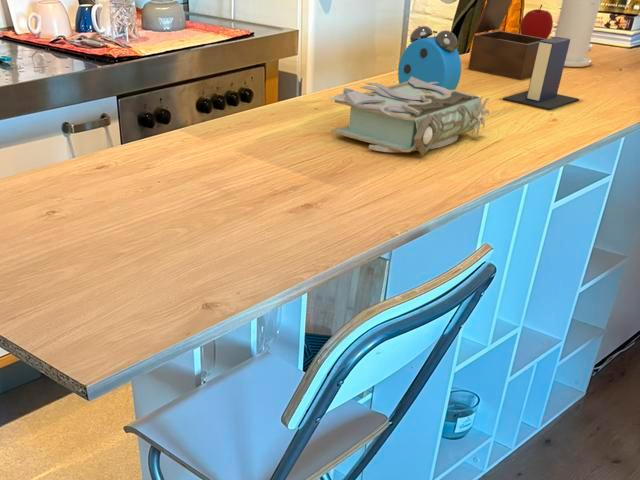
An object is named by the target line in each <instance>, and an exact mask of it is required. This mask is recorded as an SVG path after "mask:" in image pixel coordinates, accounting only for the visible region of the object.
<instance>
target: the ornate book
mask: <svg viewBox="0 0 640 480" xmlns="http://www.w3.org/2000/svg"><path fill="white" fill-rule="evenodd" d="M436 83H439V82H429V83H427V82H424V81H421V80H419V79H417V78H414V77H412V76H411V78H410V79H409V80H408V81H407V82H403V83H400V84H399V83H398V84H393V85H388V86H385V85H383V84H381V83H377V82H365V85H363V86H360V89H363V90H367V91H371V92H361V91H358V90H354V89H351V88H347V87H344V88H343V91H342V93H341V94H336V95H334V96H330V97H327V99H329V100H333V101H334V103H335V104H340V105H344V106H348V107H350V114H349V123H348V126H344V127H340V128H337V129H332V130H331V133H332V134H335V135H339V136H342V137H345V138H350V139H354V140H358V141H361V142H365V143H368V149H369V150H373V151H378V152H382V153H411V152H417V151H418V153H419V155H421V157H423V156H424V155H425V154H427V152H428V151H429V150H433V149H439V148H442V147H445V146H448V145H450V144H453V143H455V142H457V141H458V139H459V136H460V135H462V134H465V133H468V136H472V135H473V134H474V133H475V131H476V130H477V131H476V134H475V136H474V139H476V138H477V137H478V135H479V132H480V128H481V125H482V130H484V129H485V126H486V120H485V118H484V117H486V115H487V114H488V115H490V110H489V109H487V108H486V105H487V102H488V101H489V100H491V99H490V98H489V97H487V98H486V99H484V101H483V102H482V100H483V97H484V94H482V95H481V97H480V96H478V95H476V94H470V93H467V92H463V91H461V90H459V89H458V90H457V89H455V90H448V89H446V88H443V87H440V86H436V85H432V84H436ZM483 116H484V117H483ZM469 132H470V133H469Z"/></svg>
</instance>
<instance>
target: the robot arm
mask: <svg viewBox="0 0 640 480" xmlns="http://www.w3.org/2000/svg"><path fill="white" fill-rule="evenodd" d="M601 1H602V0H562V3H561V7H560V12H559V14H558V20H557V24H556V27H555V34H554V37H562V38H568V39H570V43H569V48H568V52H567V56H566V60H565V64H564V67H569V68H570V67H571V68H585V67H588V66H590V65H591V63H592V59H591V58H590V57H587V56H588V52H589V53H590V52H591V51H592V50H593V44H592V43H591V40H592V37H593V32H594V28H595V25H596V21H597V17H598V14H599V10H600V6H601V3H602V2H601Z"/></svg>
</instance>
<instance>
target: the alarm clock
mask: <svg viewBox="0 0 640 480" xmlns="http://www.w3.org/2000/svg"><path fill="white" fill-rule="evenodd" d="M433 34H434V36H432V35H433ZM409 41H410V44H408V46H407V47H405V50H404V51H403V53H402V54H401V57H400V58H399V63H398V71H397V79H398V84H400V83H403V82H407V81H408V80H409V79H410V78H411V76H412V77H414V78H417V79H419V80H421V81H424V82H427V83H429V82H439V83H436V84H432V85H436V86H440V87H443V88H446V89H448V90H457V88H458V85H459V83H460V80H461V74H462V61H461V57H460V56H461V55H460V53H459V51H458V48H457V47H458V38H457V36H456V34H455V33H453V31H450V30H447V29H446V30H444V29H443V30H441V31H439V32H438V31H437V30H432V28H430V27H429V26H426V25H421V26H420V25H418V26H417V27H416V28H415V29H414V30H413V31H412V32H411V34H410V35H409Z"/></svg>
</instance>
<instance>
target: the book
mask: <svg viewBox="0 0 640 480" xmlns="http://www.w3.org/2000/svg"><path fill="white" fill-rule="evenodd" d="M569 43H570V39H568V38H562V37H548V38H547V39H544V40H540V41H539V44H538V49H537V53H536V58H535V62H534V67H533V71H532V76H531V77H530V81H529V85H528V88H527V91H528V94H527V98H526V99H527V100H531V101H536V102H542V101H545V100H548V99H552V98H555V97H557V94H558V93H559V92H558V91H559V88H560V84H561V79H562V76H563V71H564V68H565V66H564V64H565V60H566V56H567V52H568V48H569Z"/></svg>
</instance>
